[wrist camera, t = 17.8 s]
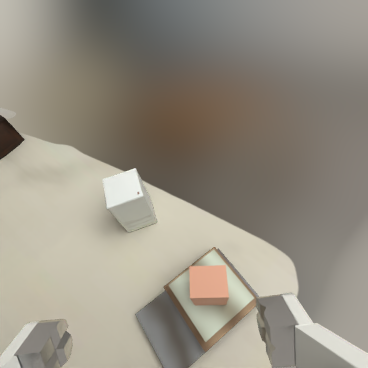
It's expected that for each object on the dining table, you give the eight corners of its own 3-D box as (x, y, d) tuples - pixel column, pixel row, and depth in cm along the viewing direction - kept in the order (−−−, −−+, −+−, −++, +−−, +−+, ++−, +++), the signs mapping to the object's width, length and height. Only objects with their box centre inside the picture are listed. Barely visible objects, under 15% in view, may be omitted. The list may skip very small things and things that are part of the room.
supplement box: (150, 197, 59) (136, 166, 48) (158, 223, 55) (144, 196, 44) (122, 206, 59) (101, 178, 48) (127, 233, 55) (106, 209, 44)
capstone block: (226, 304, 38) (228, 297, 30) (194, 305, 38) (189, 298, 31) (223, 278, 40) (225, 265, 33) (194, 279, 41) (189, 266, 33)
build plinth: (173, 381, 39) (165, 389, 33) (137, 315, 45) (124, 311, 39) (260, 300, 44) (268, 295, 38) (218, 250, 50) (218, 238, 44)
